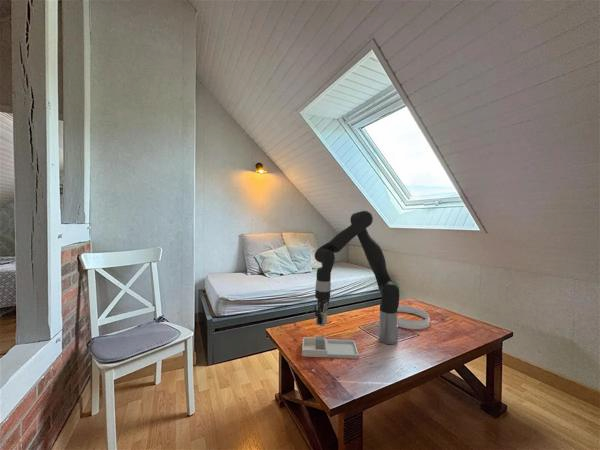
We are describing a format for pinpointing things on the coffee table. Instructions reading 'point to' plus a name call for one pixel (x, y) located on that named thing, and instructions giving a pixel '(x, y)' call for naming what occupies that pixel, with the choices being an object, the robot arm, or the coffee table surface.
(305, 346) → the open box
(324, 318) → the light grey block
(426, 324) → the white ring
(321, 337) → the blue-grey block
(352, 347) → the parts tray
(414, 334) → the coffee table surface
